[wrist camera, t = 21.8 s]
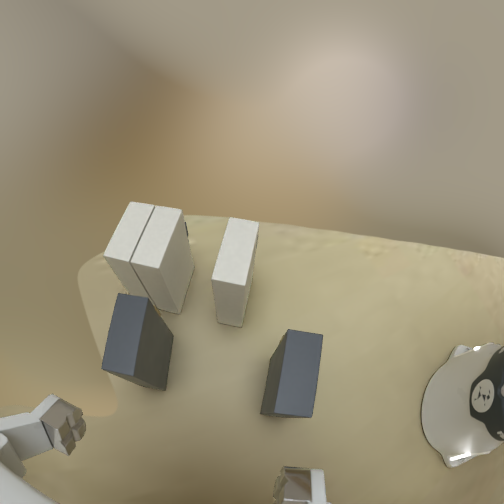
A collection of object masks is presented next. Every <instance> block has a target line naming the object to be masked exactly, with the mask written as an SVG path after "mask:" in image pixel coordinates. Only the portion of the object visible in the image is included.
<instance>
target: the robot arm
mask: <svg viewBox="0 0 504 504" xmlns="http://www.w3.org/2000/svg"><path fill="white" fill-rule="evenodd" d="M82 415H83V413H82V410H81V409H80V408H78V407H76V406H74V405H72V404H70V403H68V402H67V401H64V400H63V399H61V398H59V397H58V396H56V395H54V394H51V395H48V397H47V398H45V399H44V400H43V401H42V402H41V403H40V404H39V406H37V407H36V408H35V409H34V410H33V411H32V412H31V413H29V412H26V413H22V414H17V415H12V416H7V417H2V418H0V504H59V503H58V502H56V501H54V500H53V499H51V498H50V497H48V496H47V495H45V494H43V493H42V492H40V491H39V490H37V489H36V488H35V487H33V486H32V485H30V484H29V483H27V482H26V481H25V480H23V479H22V477H23V476H24V475H25V474H26V472H27V471H26V468H25V466H24V465H23V463H22V462H21V461H23V460H25V459H28V458H31V457H33V456H36V455H38V454H41V453H43V452H46V451H48V450H51V449H53V448H55V449H57V450H58V451H60V452H62V453H64V454H66V455H68V456H69V455H70V454H71V452H72V451H73V450H74V448H75V447H76V443H75V442H76V441H79V440H81V439H82V438H83V436H84V434H85V431H86V424H85V421H84V420H83V418H82ZM422 425H423V430H424V433H425V436H426V438H427V440H428V442H429V443H430V444H431V445H432V447H433V448H435V449H436V450H437V451H438V452H440V453H441V455H442V457H443V459H444V462H445V464H446V465H447V467H456V466H458V465H460V464H462V463H464V462H466V461H468V460H470V459H472V458H474V457H476V456H478V455H483V454H488V453H490V452H491V451H492V450H493V449H495V448H497V447H498V446H500V445H501V444H502V443H504V346H503V347H502V346H501V345H500V344H494V343H493V342H489V343H487V344H484V345H482V346H477V347H474V349H473V348H470V347H468V346H465V345H459V346H456V347H455V348H454V349H453V351H452V353H451V355H450V357H449V359H448V361H447V362H446V363H445V364H444V365H443V366H441V367H440V368H439V369H438V370H437V371H436V372H435V374H434V375H433V377H432V378H431V380H430V382H429V384H428V386H427V388H426V391H425V394H424V398H423V403H422ZM273 497H274V498H275V499H276V500H275V502H274V504H331V502H327V501H326V489H325V479H324V471H323V469H309V468H298V467H285V466H284V467H282V469H281V473H280V476H278V477H277V480H276V482H275V486H274V492H273Z"/></svg>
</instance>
